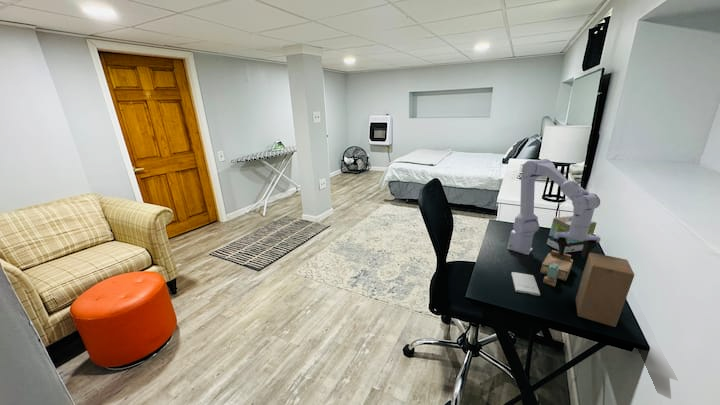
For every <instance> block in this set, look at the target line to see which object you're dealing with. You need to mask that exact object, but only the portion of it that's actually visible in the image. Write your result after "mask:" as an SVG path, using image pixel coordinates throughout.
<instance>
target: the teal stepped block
mask: <svg viewBox="0 0 720 405" xmlns="http://www.w3.org/2000/svg"><path fill="white" fill-rule="evenodd" d="M558 270H559V267H558V264H556V263H553V264H552V265H550V266H549V269H548V273H547V275H546V276H547V277H550V278H553V279H556V280H557V279H558V278H557V274H558Z"/></svg>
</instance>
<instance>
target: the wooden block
mask: <svg viewBox="0 0 720 405" xmlns="http://www.w3.org/2000/svg"><path fill="white" fill-rule="evenodd" d="M629 262H630V261H629V260H628V259H625V258H620V257H616V256H615V257H614V256H610V255H605V254H600V253H596V252H591V251H590V252H589V253H588V255H587V258H586V262H585V264H584V269H583V272H582V276H581V280H580V282H579V286H578V290H577V293H576V297H575V306H576V313H577V316H578V317H579V318H583V319H586V320H590V321H593V322H596V323H600V324H603V325H606V326H610V327H613V328H616V327H617V324H618V322H619V318H620V317H621V315H622V314H621V313H622V310H623V309H624V308H623V307H624V305H625V303H626V301H627V297H628V295H629V292H630V288H631V287H632V283H633V281H634V277H635V273H634V271H633V269H632V267H631V265H630V263H629Z"/></svg>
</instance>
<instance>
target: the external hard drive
mask: <svg viewBox="0 0 720 405" xmlns="http://www.w3.org/2000/svg"><path fill="white" fill-rule="evenodd" d="M510 274H511V278H512V283H513V287H514V290H515V293H516V292H517V293H522V294H529V295H531V296H538V297H539V296H541V292H540V289H539V287H538V284H537V281H536V278H535V276H534V274H533V275H532V274H529V273H528V274H527V273H521V272H515V271H511V273H510Z"/></svg>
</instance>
